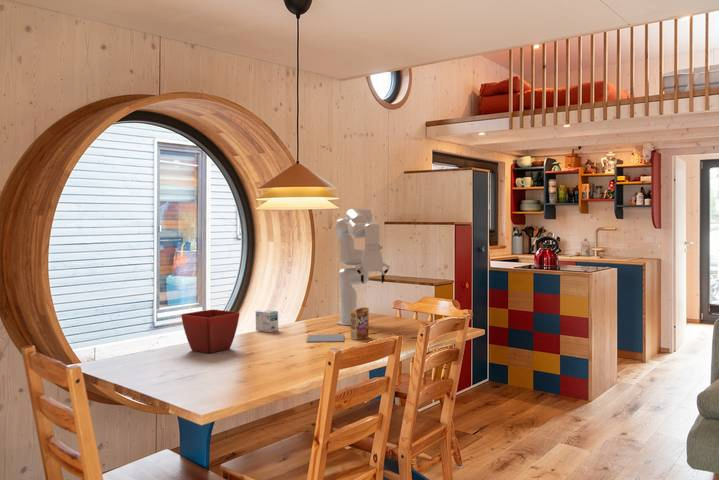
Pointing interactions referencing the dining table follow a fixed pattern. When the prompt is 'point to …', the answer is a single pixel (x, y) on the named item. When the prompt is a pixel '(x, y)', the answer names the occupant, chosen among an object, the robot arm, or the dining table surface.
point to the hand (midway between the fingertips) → (372, 283)
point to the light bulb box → (266, 320)
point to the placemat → (326, 338)
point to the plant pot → (210, 329)
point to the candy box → (359, 323)
